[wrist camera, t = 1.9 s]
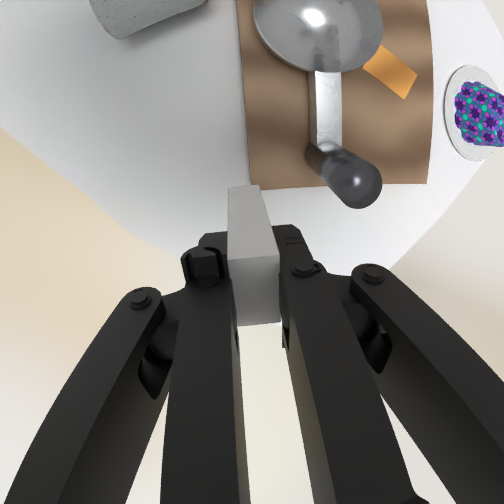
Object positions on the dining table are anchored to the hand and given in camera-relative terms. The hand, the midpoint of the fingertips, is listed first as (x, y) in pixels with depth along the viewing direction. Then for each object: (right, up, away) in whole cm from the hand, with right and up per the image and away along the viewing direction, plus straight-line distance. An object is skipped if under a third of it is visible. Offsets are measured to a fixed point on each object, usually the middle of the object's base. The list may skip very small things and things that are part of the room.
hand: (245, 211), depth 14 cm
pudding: (+26, +15, +8) cm, 31 cm away
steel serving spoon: (+6, +13, +4) cm, 14 cm away
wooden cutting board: (+8, +14, +6) cm, 18 cm away
